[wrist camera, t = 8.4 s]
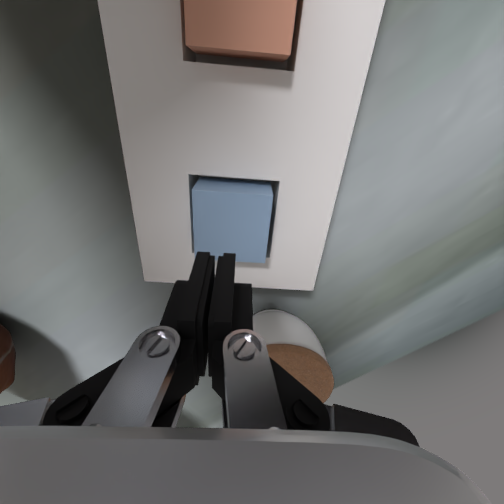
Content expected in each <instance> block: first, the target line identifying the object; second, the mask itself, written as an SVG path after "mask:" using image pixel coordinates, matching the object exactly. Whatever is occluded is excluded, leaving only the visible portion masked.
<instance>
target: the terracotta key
mask: <svg viewBox="0 0 504 504" xmlns="http://www.w3.org/2000/svg"><path fill="white" fill-rule="evenodd" d="M296 5H297V0H184V16H185V40H186V46H188V47H189V48H190V49H191V50H193V51H194V52H195V53H196V54H203V55H214V56H224V57H235V58H245V59H256V60H266V61H277V62H284V61H285V60H286V59H287V58H288V57H289V56H290V54H291V46H292V38H293V30H294V21H295V13H296Z"/></svg>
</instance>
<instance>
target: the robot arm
mask: <svg viewBox="0 0 504 504" xmlns="http://www.w3.org/2000/svg"><path fill="white" fill-rule="evenodd" d="M235 260H236V253H223V256H218V262H217V268H216V274H215V256H213V255H210V252H200V251H198V252H197V254H196V257H195V261H194V264H193V267H192V270H191V274H190V277H189V280H177V281H176V282H175V285H174V287H173V290H172V293H171V296H170V298H169V301H168V304H167V307H166V309H165V312H164V315H163V317H162V320H161V323H160V326H156V327H152V328H150V329H147V330H146V331H144V332H143V333H141V334H140V335H139V336H138V338H137V339H136V340H135V342H134V343H133V345H132V346H131V348H130V350H129V351H128V353H127V354H126V356H125V357H124V358H122V359H121V360H119V361H117V362H116V363H114V364H112V365H111V366H109V367H107V368H106V369H104V370H102V371H100V372H99V373H97V374H95V375H94V376H92V377H90V378H89V379H87V380H85V381H84V382H82V383H80V384H78V385H77V386H75V387H73V388H72V389H70V390H68V391H67V392H65V393H64V394H62V395H61V396H60V397H58V398H57V399H55V400H51V399H50V398H49V397H47V398H42V399H36V400H31V401H26V402H20V403H15V404H10V405H4V406H0V504H492V503H491V502H490V501H489V499H488V498H487V497H486V496H485V495H484V493H483V492H482V491H481V490H480V489H479V487H478V486H477V485H476V484H475V483H474V482H473V481H472V480H471V479H470V478H469V477H468V476H466V474H464V473H463V472H462V471H460V470H459V469H458V468H457V467H455V466H453V465H452V464H451V463H449V462H447V461H446V460H444V459H442V458H440V457H439V456H437V455H435V454H433V453H431V452H429V451H427V450H425V449H423V448H421V447H420V446H419V444H418V442H417V439H416V437H415V436H414V435H413V434H412V432H411V431H410V430H409V429H408V428H407V427H406V426H404V425H403V424H402V423H400V422H398V421H396V420H393V419H390V418H386V417H382V416H379V415H375V414H371V413H368V412H364V411H360V410H356V409H352V408H348V407H345V406H341V405H337V404H333V406H328V405H325V404H323V402H322V401H321V400H320V399H319V398H318V397H317V396H315V395H314V394H313V393H312V392H311V391H310V390H308V389H307V388H306V387H305V386H304V385H302V384H301V383H300V382H299V381H298V380H297V379H295V378H294V377H293V376H292V375H291V374H289V373H288V372H287V371H286V370H285V369H284V368H282V367H281V366H280V365H279V364H278V363H276V362H275V361H274V360H273V359H272V358H270V357H269V355H268V351H267V347H266V343H265V341H264V339H263V338H262V337H261V336H260V334H258V333H256V332H255V331H253V310H252V284H250V283H234V279H235ZM207 356H208V368H209V377H212V388H213V389H214V390H215V391H216V393H217V394H218V395H219V396H220V397H221V405H222V419H223V428H176V425H177V422H178V419H179V416H180V413H181V410H182V407H183V405H184V402H185V397H186V394H187V393H188V392H189V391H190V390H192V389H193V388H194V387H195V385H198V382H199V376H205V370H206V363H207Z"/></svg>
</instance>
